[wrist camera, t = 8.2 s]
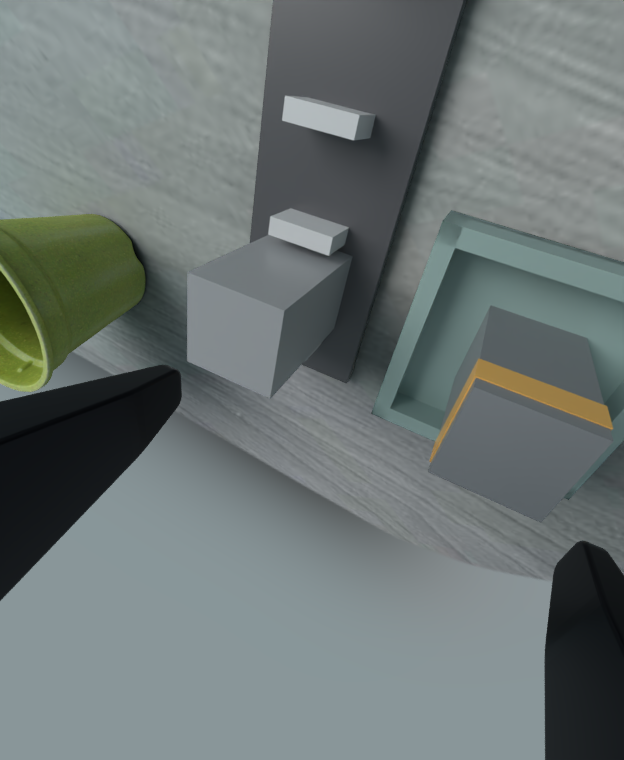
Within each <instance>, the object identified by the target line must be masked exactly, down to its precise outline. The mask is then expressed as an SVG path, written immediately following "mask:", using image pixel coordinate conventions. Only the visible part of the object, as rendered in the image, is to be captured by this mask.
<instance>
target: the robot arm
mask: <svg viewBox="0 0 624 760" xmlns="http://www.w3.org/2000/svg"><path fill="white" fill-rule="evenodd" d="M181 397H182V392H181V374H180V372H179V371H178V370H177V369H175V368H173V367H170V366H168V365H158V366H154V367H149V368H145V369H141V370H136V371H132V372H128V373H123V374H119V375H115V376H110V377H106V378H101V379H97V380H93V381H88V382H84V383H80V384H75V385H71V386H67V387H62V388H58V389H53V390H49V391H45V392H40V393H36V394H32V395H27V396H23V397H19V398H14V399H10V400H6V401H1V402H0V601H1V599H3V597H4V596H5V595H6V594H7V593H8V592H9V591H10V590H11V589H12V588H13V587H14V586H15V585H16V584H17V583H18V582H19V581H20V580H21V578H23V577H24V576H25V575H26V573H27V572H28V571H29V570H30V569H31V568H32V567H33V566H34V565H35V564H36V563H37V562H38V561H39V560H40V559H41V558H42V557H43V556H44V555H45V554H46V553H47V552H48V550H50V548H51V547H52V546H53V545H54V544H55V543H56V542H57V541H58V540H59V539H60V538H61V537H62V536H63V535H64V534H65V533H66V532H67V531H68V530H69V529H70V527H71V526H72V525H73V524H74V523H75V522H76V521H77V520H78V519H79V518H80V517H81V516H82V515H83V514H84V513H85V512H86V511H87V510H88V509H89V508H90V507H91V506H92V505H93V504H94V503H95V501H96V500H97V499H98V498H99V497H100V496H101V495H102V494H103V493H104V492H105V491H106V490H107V489H108V488H109V487H110V486H111V485H112V484H113V483H114V482H115V480H116V479H117V478H118V477H119V476H120V475H121V474H122V473H123V472H124V471H125V470H126V469H127V468H128V467H129V466H130V465H131V464H132V463H133V462H134V461H135V460H136V459H137V457H138V456H139V455H140V454H141V453H142V452H143V451H144V449H145V448H146V447H147V446H148V445H149V443H150V442H151V441H152V439H153V438H154V437H155V435H156V434H157V433H158V432H159V430H160V429H161V428H162V426H163V425H164V424H165V423H166V421H167V420H168V419H169V417H170V416H171V415H172V414H173V412H174V411H175V410H176V408H177V407H178V406H179V404H180V401H181ZM545 760H624V575H623V573H622V572H621V570H620V569H619V568H618V566H617V565H616V563H615V562H614V560H613V559H612V557H611V556H610V555H609V553H608V552H607V551H606V550H604V549H603V548H601V547H598V546H596V545H593V544H591V543H589V542H586V541H579V542H577V543H576V544H575V545H574V546H573V547H572V548H571V549H570V550H569V551H568V552H567V553H566V554H565V555H564V557H563V558H562V559H561V560H560V561H559V562H558V563H557V565H556V567H555V570H554V574H553V583H552V592H551V600H550V609H549V617H548V627H547V634H546V644H545Z"/></svg>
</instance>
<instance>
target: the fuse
mask: <svg viewBox="0 0 624 760" xmlns="http://www.w3.org/2000/svg"><path fill="white" fill-rule="evenodd" d="M612 429H613V426H612V422H611V418H610V415H609V411H608V407H607V406H605V405H604V402H603V398H602V395H601V391H600V387H599V383H598V379H597V375H596V371H595V367H594V363H593V359H592V356H591V352H590V348H589V344H588V340H587V338H585V337H583V336H580V335H577V334H574V333H571V332H568V331H565V330H562V329H559V328H556V327H553V326H550V325H547V324H544V323H541V322H539V321H536V320H533V319H530V318H527V317H524V316H521V315H518V314H515V313H512V312H509V311H506V310H503V309H500V308H497V307H495V306H492V305H490V307H489V309H488V312H487V314H486V316H485V318H484V320H483V322H482V324H481V326H480V328H479V330H478V332H477V334H476V336H475V338H474V340H473V342H472V344H471V346H470V348H469V350H468V352H467V354H466V356H465V358H464V360H463V362H462V364H461V366H460V368H459V370H458V372H457V374H456V376H455V379H454V383H453V386H452V390H451V393H450V397H449V400H448V404H447V407H446V411H445V414H444V418H443V421H442V425H441V428H440V432H439V435H438V437H437V439H436V441H435V444H434V447H433V451H432V454H431V458H430V462H431V464H430V467H429V471H428V472H430V473H432V474H434V475H436V476H438V477H441V478H443V479H445V480H447V481H450V482H452V483H454V484H456V485H458V486H461V487H463V488H465V489H467V490H470V491H472V492H474V493H476V494H479V495H481V496H483V497H485V498H487V499H490V500H492V501H494V502H496V503H499V504H501V505H503V506H505V507H507V508H510V509H512V510H514V511H516V512H519V513H521V514H523V515H525V516H527V517H530V518H532V519H534V520H536V521H539V522H542V521H543V520H544V519H545V517H546V516H547V515H548V514H549V513H550V512H551V511H552V510H553V509H554V507H555V506H556V505H557V504H558V503H559V502H560V501H561V500H562V498H563V497H564V496H565V495H566V494H567V493H568V492H569V491H570V490H571V488H572V487H573V486H574V485H575V484H576V483H577V482H578V481H579V479H580V478H581V477H582V476H583V475H584V474H585V473H586V472H587V471H588V469H589V468H590V467H591V466H592V465H593V464H594V463H595V462H596V461H597V459H598V458H599V457H600V456H601V455H602V454H603V453H604V452H605V450H606V449H607V448H608V447H609V446H610V445H611V444H612V443H613V442H614V441H613V437H612V434H611V430H612Z"/></svg>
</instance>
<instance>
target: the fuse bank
mask: <svg viewBox="0 0 624 760" xmlns="http://www.w3.org/2000/svg"><path fill="white" fill-rule="evenodd" d="M466 1H467V0H273V7H272V17H271V27H270V38H269V48H268V59H267V69H266V80H265V90H264V101H263V111H262V121H261V132H260V142H259V153H258V163H257V174H256V184H255V195H254V205H253V216H252V226H251V236H250V244H247V245H245V246H243V247H241V248H239V249H237V250H234V251H232V252H230V253H228V254H226V255H224V256H221V257H219V258H217V259H215V260H213V261H210V262H208V263H206V264H204V265H202V266H200V267H197V268H195V269H193V270H191V271H189V272H187V361H188V362H190V363H192V364H194V365H197V366H199V367H201V368H203V369H205V370H208V371H210V372H212V373H214V374H216V375H219V376H221V377H223V378H225V379H227V380H230V381H232V382H234V383H236V384H238V385H241V386H243V387H245V388H247V389H249V390H252V391H254V392H256V393H258V394H260V395H262V396H265V397H267V398H269V399H270V398H271V397H272V396H273V395H274V394H275V393H276V392H277V391H278V390H279V388H280V387H281V386H282V385H283V384H284V383H285V382H286V381H287V380H288V379H289V378H290V376H291V375H292V374H293V373H294V372H295V371H296V370H297V369H298V368H299V367H300V365H301V364H302V365H304V366H307V367H309V368H312V369H314V370H316V371H319V372H321V373H323V374H326V375H328V376H330V377H333V378H335V379H337V380H340V381H342V382H345V383H347V382H348V381H349V379H350V377H351V374H352V371H353V368H354V364H355V361H356V358H357V355H358V352H359V348H360V345H361V342H362V339H363V335H364V332H365V329H366V326H367V322H368V319H369V316H370V313H371V309H372V306H373V303H374V300H375V296H376V293H377V290H378V287H379V283H380V280H381V277H382V274H383V270H384V267H385V264H386V261H387V257H388V254H389V251H390V248H391V244H392V241H393V238H394V235H395V232H396V228H397V225H398V222H399V219H400V215H401V212H402V209H403V206H404V202H405V199H406V196H407V193H408V189H409V186H410V183H411V180H412V176H413V173H414V170H415V167H416V163H417V160H418V157H419V154H420V150H421V147H422V144H423V141H424V137H425V134H426V131H427V128H428V124H429V121H430V118H431V115H432V112H433V108H434V105H435V102H436V99H437V95H438V92H439V89H440V86H441V82H442V79H443V76H444V73H445V69H446V66H447V63H448V60H449V56H450V53H451V50H452V47H453V43H454V40H455V37H456V34H457V30H458V27H459V24H460V21H461V17H462V14H463V11H464V8H465V4H466Z"/></svg>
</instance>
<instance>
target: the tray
mask: <svg viewBox="0 0 624 760" xmlns="http://www.w3.org/2000/svg"><path fill="white" fill-rule="evenodd" d="M490 305H492V306H495V307H497V308H500V309H503V310H506V311H509V312H512V313H515V314H518V315H521V316H524V317H527V318H530V319H533V320H536V321H539V322H541V323H544V324H547V325H550V326H553V327H556V328H559V329H562V330H565V331H568V332H571V333H574V334H577V335H580V336H583V337H585V338H587V340H588V344H589V348H590V352H591V356H592V359H593V363H594V367H595V371H596V375H597V379H598V383H599V387H600V391H601V395H602V398H603V402H604V405H605V406H607V407H608V411H609V415H610V418H611V422H612V426H613V429H612V430H611V434H612V437H613V441H614V442H613V443H612V444H611V445H610V446H609V447H608V448H607V449H606V450H605V452H604V453H603V454H602V455H601V456H600V457H599V458H598V459H597V461H596V462H595V463H594V464H593V465H592V466H591V467H590V468H589V469H588V471H587V472H586V473H585V474H584V475H583V476H582V477H581V478H580V479H579V481H578V482H577V483H576V484H575V485H574V486H573V487H572V488H571V490H570V491H569V492H568V493H567V494H566V495H565V496H564V497H563V498H566V499H568V500H569V499H570V498H571V497H572V496H573V494H574V493H575V492H576V491H577V490H578V489H579V488H580V487H581V486H582V485H583V484H584V483H585V482H586V480H587V479H588V478H589V477H590V476H591V475H592V474H593V473H594V472H595V471H596V470H597V469H598V468H599V467H600V465H601V464H602V463H603V462H604V461H605V460H606V459H607V458H608V457H609V456H610V455H611V454H612V453H613V451H614V450H615V449H616V448H617V447H618V446H619V445H620V444H621V443H622V442H623V441H624V262H621V261H618V260H614V259H611V258H608V257H604V256H601V255H598V254H594V253H591V252H588V251H585V250H581V249H578V248H575V247H571V246H568V245H565V244H561V243H558V242H555V241H551V240H548V239H545V238H541V237H538V236H535V235H532V234H528V233H525V232H522V231H518V230H515V229H512V228H508V227H505V226H502V225H498V224H495V223H492V222H488V221H485V220H482V219H479V218H475V217H472V216H469V215H465V214H462V213H459V212H455V211H452V210H451V211H450V213H449V214H448V215H447V216H446V218H445V219H444V220H443V222H442V224H441V227H440V230H439V233H438V235H437V238H436V241H435V243H434V246H433V249H432V251H431V254H430V257H429V259H428V262H427V265H426V267H425V270H424V273H423V276H422V278H421V281H420V284H419V286H418V289H417V292H416V294H415V297H414V300H413V302H412V305H411V308H410V310H409V313H408V316H407V319H406V321H405V324H404V327H403V329H402V332H401V335H400V337H399V340H398V343H397V345H396V348H395V351H394V353H393V356H392V359H391V362H390V364H389V367H388V370H387V372H386V375H385V378H384V380H383V383H382V386H381V388H380V391H379V394H378V396H377V399H376V402H375V404H374V407H373V410H372V413H371V414H373V415H376V416H378V417H380V418H382V419H385V420H387V421H389V422H392V423H394V424H396V425H398V426H401V427H403V428H405V429H408V430H410V431H412V432H415V433H417V434H419V435H421V436H424V437H426V438H428V439H431V440H433V441H436V439H437V437H438V435H439V432H440V428H441V425H442V421H443V418H444V414H445V411H446V407H447V404H448V400H449V397H450V393H451V390H452V386H453V383H454V379H455V376H456V374H457V372H458V370H459V368H460V366H461V364H462V362H463V360H464V358H465V356H466V354H467V352H468V350H469V348H470V346H471V344H472V342H473V340H474V338H475V336H476V334H477V332H478V330H479V328H480V326H481V324H482V322H483V320H484V318H485V316H486V314H487V312H488V309H489V307H490Z"/></svg>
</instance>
